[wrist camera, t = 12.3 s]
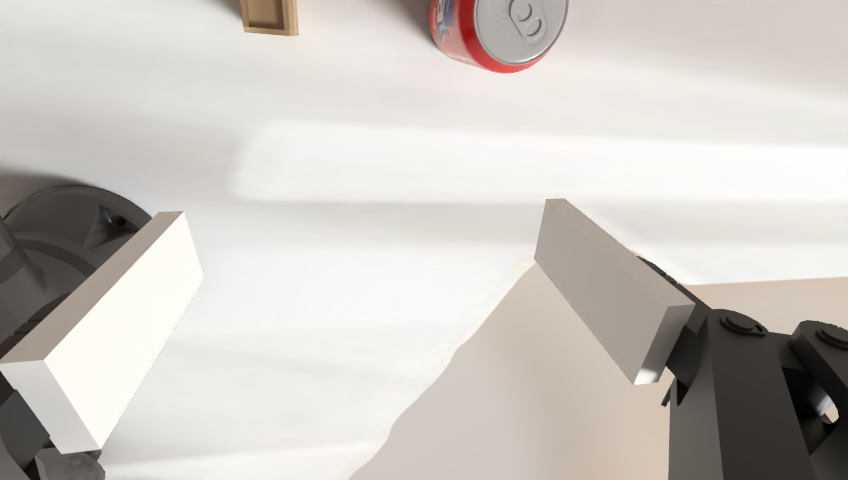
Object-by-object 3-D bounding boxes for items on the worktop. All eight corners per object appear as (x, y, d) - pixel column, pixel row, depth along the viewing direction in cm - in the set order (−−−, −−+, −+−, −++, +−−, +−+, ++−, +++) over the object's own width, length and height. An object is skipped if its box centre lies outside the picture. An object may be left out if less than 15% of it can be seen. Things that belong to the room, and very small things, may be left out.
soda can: (459, 77, 40) (508, 100, 27) (410, 13, 36) (439, 5, 24) (517, 21, 38) (599, 16, 25) (471, -52, 35) (539, -100, 22)
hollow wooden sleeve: (258, 31, 35) (244, 32, 31) (253, -14, 34) (237, -21, 29) (298, 35, 36) (290, 36, 31) (295, -10, 34) (285, -16, 30)
